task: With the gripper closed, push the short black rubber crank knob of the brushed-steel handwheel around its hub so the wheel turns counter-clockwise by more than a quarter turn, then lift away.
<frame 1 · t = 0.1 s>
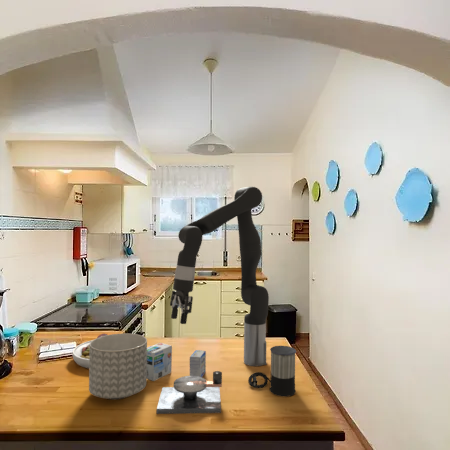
hand: (178, 321, 136), 22 cm above the counter, tool pointing down, fingers open, 8 cm apart
handwheel: (197, 379, 120), point 7 cm above the counter, hinge at 0.0°
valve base: (190, 401, 120), on the counter
light bulb box: (156, 375, 141), on the counter
bowl: (109, 359, 158), on the counter
milk frother: (271, 389, 131), on the counter
planter: (118, 394, 125), on the counter
medicine box: (197, 376, 141), on the counter
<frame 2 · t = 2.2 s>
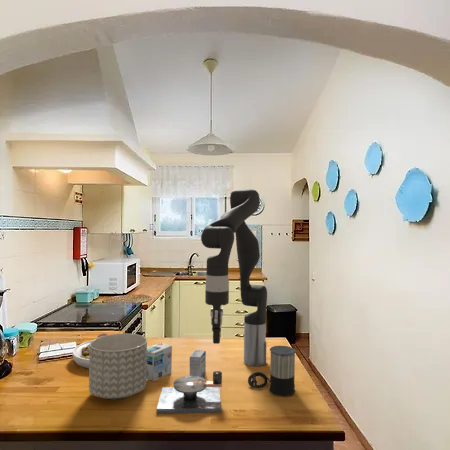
hand: (216, 342, 116), 21 cm above the counter, tool pointing down, fingers closed
nothing on the counter moved.
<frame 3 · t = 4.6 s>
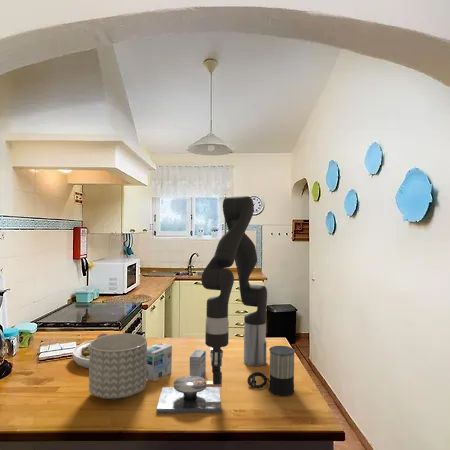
hand: (216, 383, 117), 7 cm above the counter, tool pointing down, fingers closed
handwheel: (197, 379, 120), point 7 cm above the counter, hinge at 0.5°, touching gripper
everything else where it was.
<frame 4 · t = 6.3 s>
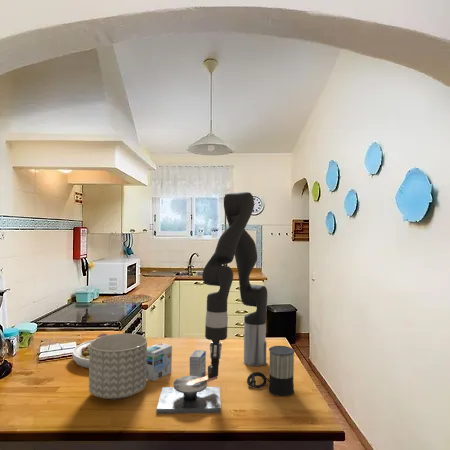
hand: (214, 375, 123), 8 cm above the counter, tool pointing down, fingers closed
handwheel: (196, 377, 122), point 7 cm above the counter, hinge at 35.9°, touching gripper
everything else where it was.
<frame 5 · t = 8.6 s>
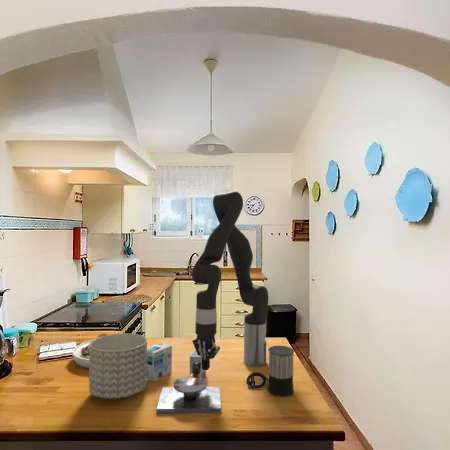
hand: (205, 369, 128), 8 cm above the counter, tool pointing down, fingers closed
handwheel: (192, 376, 123), point 7 cm above the counter, hinge at 78.5°, touching gripper
everything else where it was.
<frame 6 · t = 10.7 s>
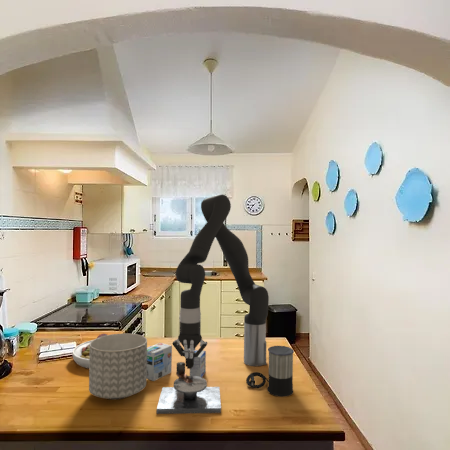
hand: (189, 367, 130), 8 cm above the counter, tool pointing down, fingers closed
handwheel: (187, 376, 122), point 7 cm above the counter, hinge at 114.6°, touching gripper
everything else where it was.
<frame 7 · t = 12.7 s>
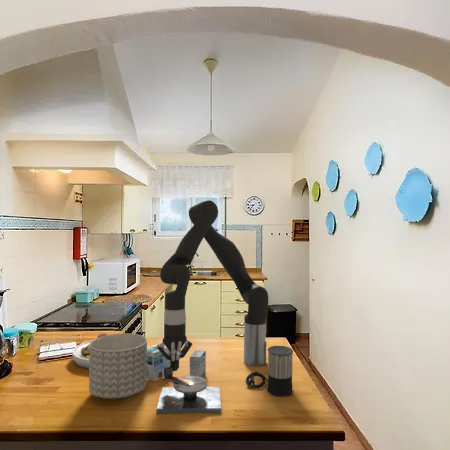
hand: (174, 370, 127), 8 cm above the counter, tool pointing down, fingers closed
handwheel: (184, 377, 121), point 7 cm above the counter, hinge at 149.1°, touching gripper
everything else where it was.
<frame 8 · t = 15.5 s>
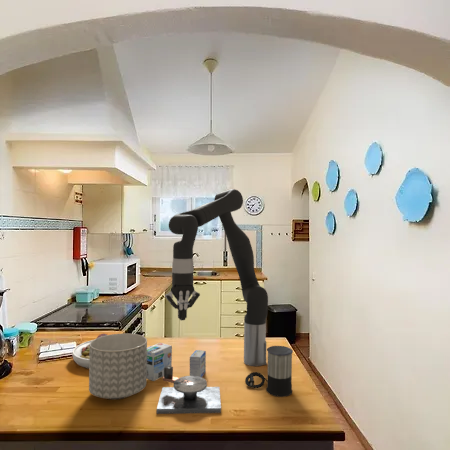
hand: (182, 319, 128), 25 cm above the counter, tool pointing down, fingers closed
handwheel: (184, 377, 121), point 7 cm above the counter, hinge at 149.2°
at the end: handwheel at +149° (first picture: +0°) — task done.
